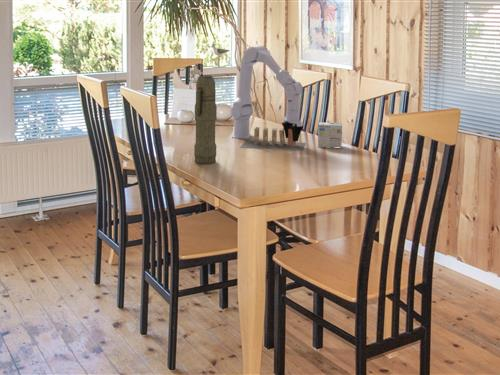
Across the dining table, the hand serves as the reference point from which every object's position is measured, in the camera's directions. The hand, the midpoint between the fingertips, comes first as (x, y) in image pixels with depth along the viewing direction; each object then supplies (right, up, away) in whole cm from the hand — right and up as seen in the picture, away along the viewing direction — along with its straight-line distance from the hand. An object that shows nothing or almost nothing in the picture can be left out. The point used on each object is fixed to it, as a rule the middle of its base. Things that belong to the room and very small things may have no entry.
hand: (291, 139), depth 351 cm
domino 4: (-4, -2, +1) cm, 5 cm away
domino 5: (0, -2, +1) cm, 3 cm away
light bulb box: (+17, -4, +1) cm, 17 cm away
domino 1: (-16, -2, +3) cm, 16 cm away
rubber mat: (-8, -3, 0) cm, 9 cm away
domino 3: (-8, -2, +2) cm, 8 cm away
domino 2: (-12, -2, +2) cm, 12 cm away
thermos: (-37, -11, -32) cm, 51 cm away
